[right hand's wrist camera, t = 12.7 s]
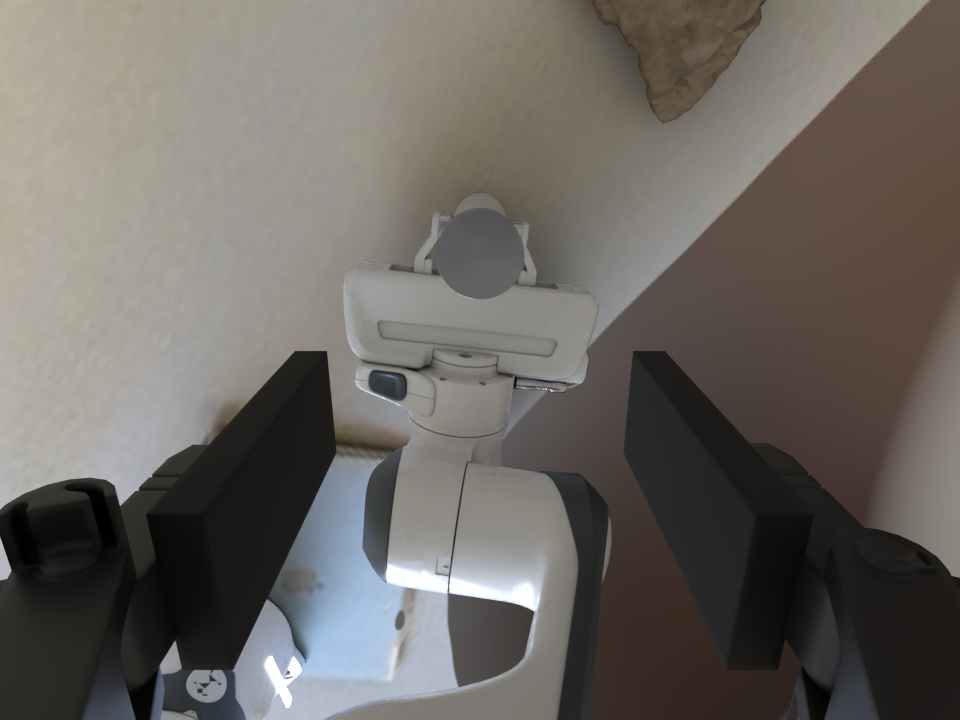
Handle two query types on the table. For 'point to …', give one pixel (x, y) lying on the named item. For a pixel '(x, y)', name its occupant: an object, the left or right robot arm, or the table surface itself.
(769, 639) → the right robot arm
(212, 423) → the table surface
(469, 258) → the lid
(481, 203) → the cream cylindrical bottle
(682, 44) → the stone
